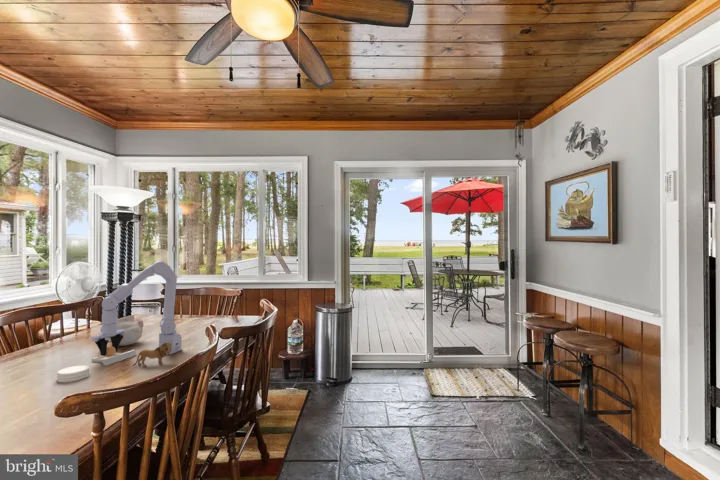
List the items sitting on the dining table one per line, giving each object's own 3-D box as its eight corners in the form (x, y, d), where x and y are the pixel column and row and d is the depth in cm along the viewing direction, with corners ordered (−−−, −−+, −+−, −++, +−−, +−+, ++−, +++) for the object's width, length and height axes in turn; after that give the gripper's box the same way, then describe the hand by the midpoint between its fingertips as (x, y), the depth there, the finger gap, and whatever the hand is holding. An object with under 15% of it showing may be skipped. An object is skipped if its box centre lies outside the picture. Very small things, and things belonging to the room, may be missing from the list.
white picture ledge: (136, 355, 169) (136, 349, 169) (106, 365, 155) (106, 359, 155) (132, 354, 170) (132, 349, 170) (102, 365, 155) (102, 359, 155)
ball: (118, 356, 165) (118, 345, 165) (108, 359, 160) (108, 347, 160) (109, 355, 166) (110, 344, 166) (99, 358, 161) (99, 347, 161)
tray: (125, 357, 166) (125, 354, 166) (107, 363, 158) (107, 360, 158) (110, 355, 169) (110, 352, 169) (91, 361, 160) (91, 358, 160)
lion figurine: (171, 360, 162) (171, 340, 162) (171, 363, 157) (171, 343, 158) (133, 365, 155) (133, 344, 155) (131, 369, 151) (132, 347, 151)
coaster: (85, 371, 148) (85, 363, 148) (92, 377, 142) (92, 368, 142) (54, 378, 140) (54, 369, 140) (60, 385, 134) (60, 375, 134)
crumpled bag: (144, 345, 185) (144, 316, 185) (98, 351, 174) (99, 320, 174) (142, 338, 198) (142, 311, 198) (100, 344, 188) (100, 315, 188)
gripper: (117, 319, 171) (116, 348, 171) (86, 326, 157) (86, 357, 157) (128, 320, 170) (128, 349, 169) (99, 327, 155) (99, 358, 155)
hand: (109, 353), depth 163 cm, fingers closed on ball, 5 cm apart
